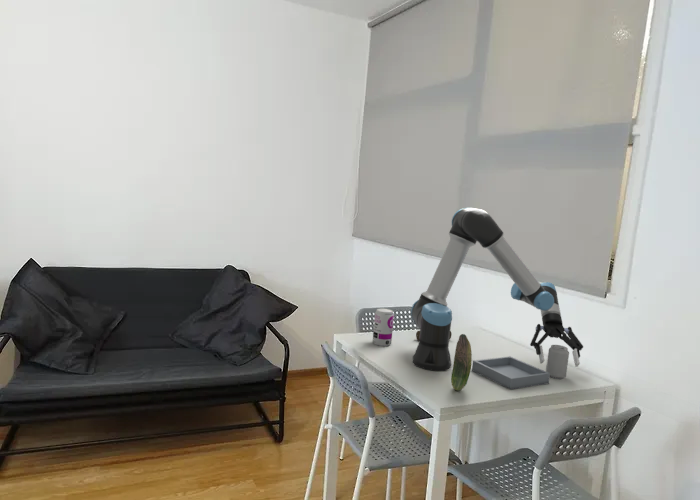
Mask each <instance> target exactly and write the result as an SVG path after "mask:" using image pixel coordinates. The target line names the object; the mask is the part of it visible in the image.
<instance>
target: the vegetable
mask: <svg viewBox="0 0 700 500" xmlns="http://www.w3.org/2000/svg"><path fill="white" fill-rule="evenodd" d="M471 346H472V345H471V342H470V341H469V339H468V336H467V335H466V334H465V333H462V334H460V335H459V337H458V340H457V342H456V345H455V351H454V357H453V358H454V359H453V363H452V364H453V365H452V372H451V379H450V381H451V382H450V383H451V386H452V388H453V390H454V391H459V392H460V391H462V390H463V389H465V387H466V385H467V383H468V381H469V378H470V373H471V371H472V363H473V359H472V347H471Z"/></svg>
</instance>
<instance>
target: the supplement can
mask: <svg viewBox="0 0 700 500" xmlns="http://www.w3.org/2000/svg"><path fill="white" fill-rule="evenodd" d="M394 317H395V314H394V310H392V309H389V308H383V307H382V308H377V309H376V311H375V312H374V323H373V333H372V343H373V344H374V345H376V346H380V347H389V346H390V345H391V344H392V339H393V332H394V331H393V329H394V319H395V318H394Z"/></svg>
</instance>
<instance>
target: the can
mask: <svg viewBox="0 0 700 500" xmlns="http://www.w3.org/2000/svg"><path fill="white" fill-rule="evenodd" d="M569 356H570V351H569V349H568V347H566V346H564V345H560V344H550V347H549V348H548V353H547V359H546V361H547V362H546V369H545V371H546V372H548V373H550V378H552V379H558V380H561V379H564V378H566V377H567V371H568V366H569V365H568V364H569V358H570V357H569Z"/></svg>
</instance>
